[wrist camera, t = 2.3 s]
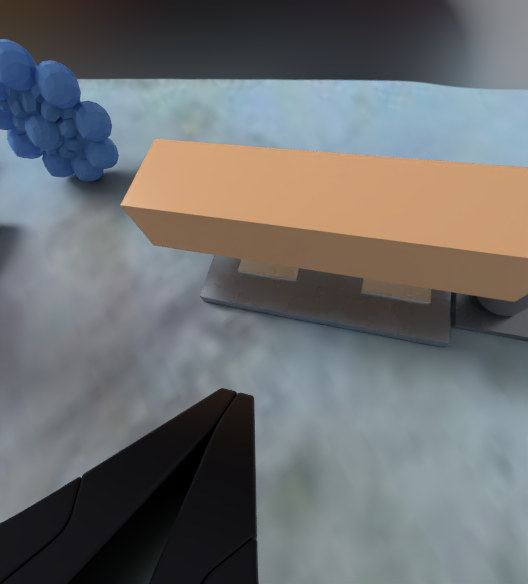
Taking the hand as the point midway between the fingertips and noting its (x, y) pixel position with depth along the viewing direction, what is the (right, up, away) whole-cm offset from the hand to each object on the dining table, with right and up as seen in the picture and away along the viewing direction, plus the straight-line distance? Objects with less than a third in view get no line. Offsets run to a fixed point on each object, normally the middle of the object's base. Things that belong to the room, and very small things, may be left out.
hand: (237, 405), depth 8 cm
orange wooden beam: (+6, +4, +15) cm, 17 cm away
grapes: (-16, +15, +24) cm, 32 cm away
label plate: (+5, +5, +16) cm, 18 cm away
